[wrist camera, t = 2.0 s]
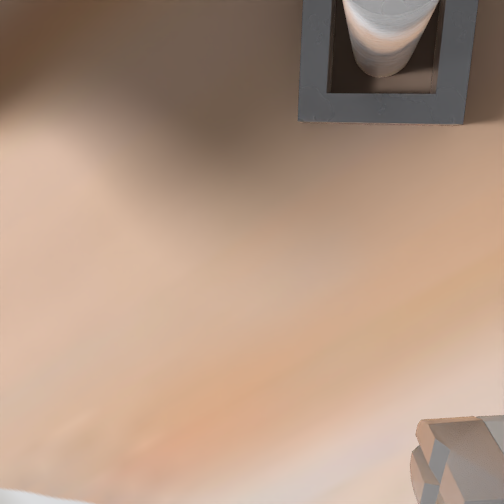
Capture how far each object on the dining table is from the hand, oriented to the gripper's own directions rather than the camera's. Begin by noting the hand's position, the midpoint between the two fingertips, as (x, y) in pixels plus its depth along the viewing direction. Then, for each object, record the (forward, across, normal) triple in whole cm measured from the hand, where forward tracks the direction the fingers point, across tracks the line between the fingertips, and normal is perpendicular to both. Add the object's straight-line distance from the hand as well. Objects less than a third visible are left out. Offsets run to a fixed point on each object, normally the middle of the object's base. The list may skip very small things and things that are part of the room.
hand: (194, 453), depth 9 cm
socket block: (+25, +10, +4) cm, 28 cm away
